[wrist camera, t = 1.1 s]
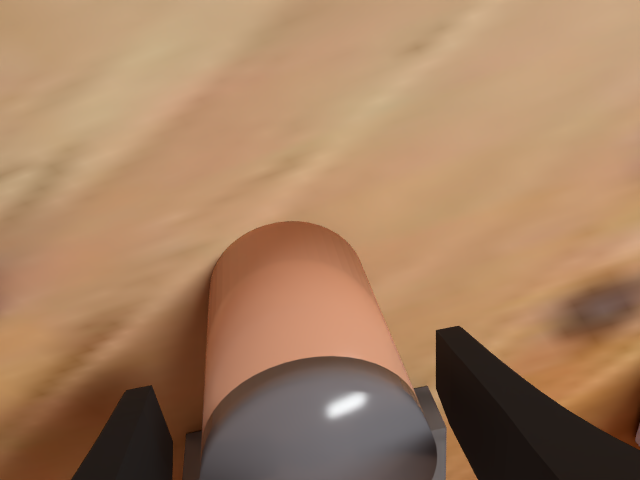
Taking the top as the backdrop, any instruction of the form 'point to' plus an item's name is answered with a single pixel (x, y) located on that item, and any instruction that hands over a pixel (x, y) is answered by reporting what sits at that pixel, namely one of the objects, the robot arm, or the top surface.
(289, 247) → the jar
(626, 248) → the top surface
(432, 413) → the tray
